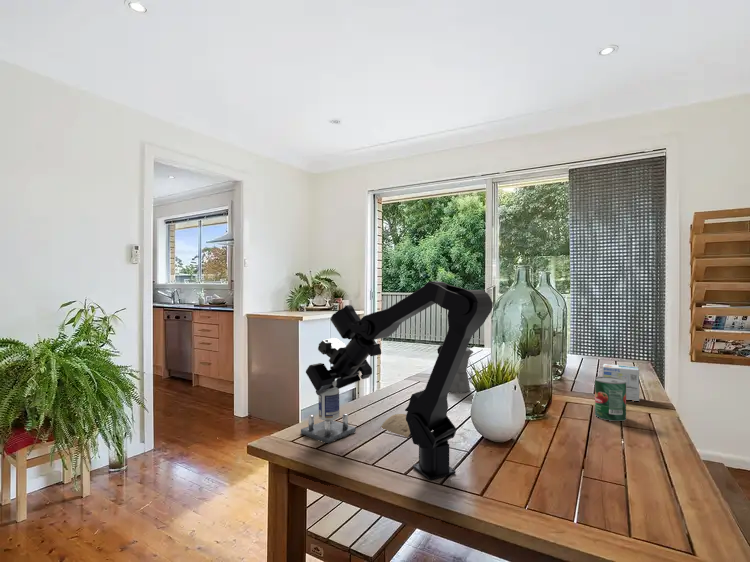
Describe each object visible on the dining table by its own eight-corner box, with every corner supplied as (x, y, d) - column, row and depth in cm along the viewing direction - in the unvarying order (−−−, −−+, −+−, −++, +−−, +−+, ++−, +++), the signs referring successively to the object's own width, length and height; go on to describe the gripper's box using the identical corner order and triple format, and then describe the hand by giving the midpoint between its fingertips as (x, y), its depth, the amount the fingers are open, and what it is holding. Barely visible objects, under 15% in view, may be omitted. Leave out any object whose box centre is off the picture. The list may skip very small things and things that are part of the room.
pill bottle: (343, 415, 106) (342, 378, 106) (332, 422, 101) (332, 383, 101) (325, 413, 108) (325, 377, 108) (314, 419, 103) (314, 381, 103)
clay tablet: (406, 440, 101) (406, 430, 101) (376, 431, 107) (376, 421, 107) (437, 425, 112) (437, 415, 112) (407, 417, 118) (407, 408, 118)
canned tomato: (588, 414, 119) (588, 377, 119) (609, 412, 121) (608, 375, 122) (611, 423, 111) (611, 383, 112) (633, 420, 114) (632, 381, 114)
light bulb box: (639, 397, 137) (639, 366, 137) (639, 402, 131) (639, 369, 131) (603, 393, 142) (603, 362, 143) (602, 397, 137) (602, 366, 137)
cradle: (355, 432, 105) (355, 414, 105) (327, 443, 97) (327, 424, 97) (329, 423, 112) (329, 406, 112) (300, 433, 104) (300, 415, 104)
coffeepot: (480, 390, 146) (479, 341, 146) (465, 395, 139) (465, 343, 140) (445, 383, 157) (445, 337, 157) (430, 387, 151) (430, 339, 151)
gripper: (363, 325, 109) (336, 361, 116) (310, 331, 95) (282, 372, 102) (386, 357, 104) (356, 393, 111) (333, 369, 90) (302, 409, 97)
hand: (325, 391), depth 105 cm, fingers closed on pill bottle, 5 cm apart
